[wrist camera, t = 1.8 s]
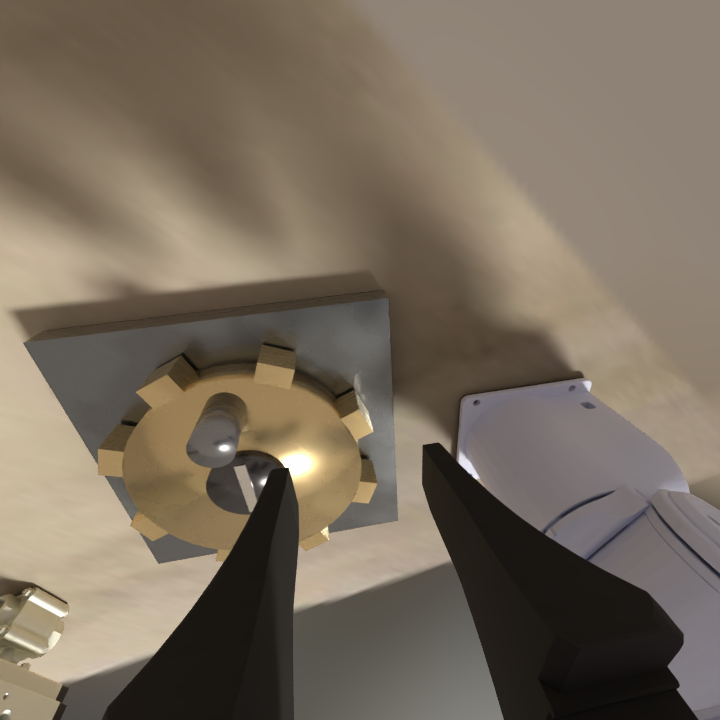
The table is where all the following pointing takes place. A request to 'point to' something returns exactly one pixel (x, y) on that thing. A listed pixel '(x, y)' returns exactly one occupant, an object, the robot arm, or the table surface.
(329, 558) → the table surface
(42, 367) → the cap plate
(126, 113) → the table surface
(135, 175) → the table surface
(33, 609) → the pneumatic valve
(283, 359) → the blocky toothed spur gear
